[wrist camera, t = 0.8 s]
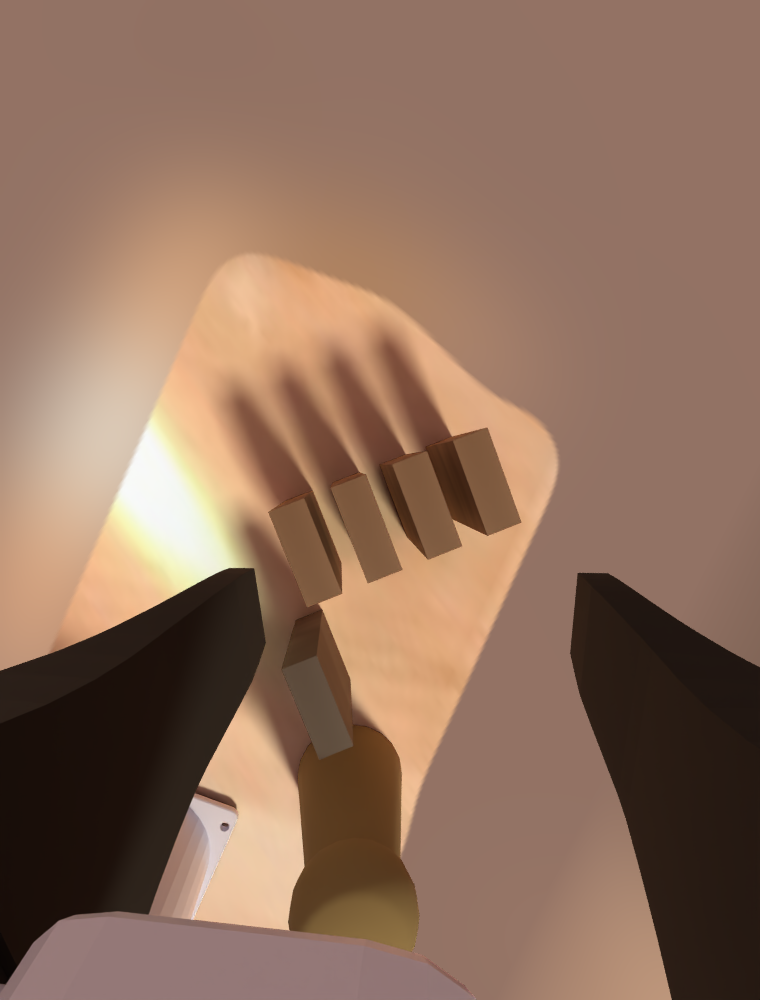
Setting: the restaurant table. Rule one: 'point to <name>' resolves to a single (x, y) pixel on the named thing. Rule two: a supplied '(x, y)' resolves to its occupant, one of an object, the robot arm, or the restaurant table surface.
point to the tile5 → (474, 482)
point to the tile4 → (421, 504)
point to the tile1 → (319, 685)
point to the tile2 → (308, 548)
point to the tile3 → (365, 526)
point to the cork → (354, 846)
